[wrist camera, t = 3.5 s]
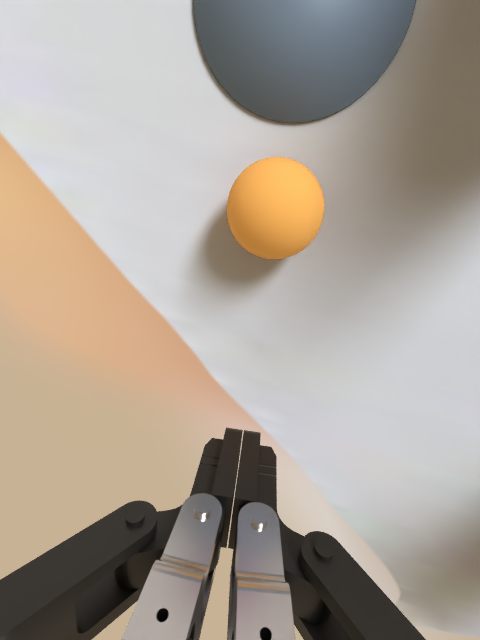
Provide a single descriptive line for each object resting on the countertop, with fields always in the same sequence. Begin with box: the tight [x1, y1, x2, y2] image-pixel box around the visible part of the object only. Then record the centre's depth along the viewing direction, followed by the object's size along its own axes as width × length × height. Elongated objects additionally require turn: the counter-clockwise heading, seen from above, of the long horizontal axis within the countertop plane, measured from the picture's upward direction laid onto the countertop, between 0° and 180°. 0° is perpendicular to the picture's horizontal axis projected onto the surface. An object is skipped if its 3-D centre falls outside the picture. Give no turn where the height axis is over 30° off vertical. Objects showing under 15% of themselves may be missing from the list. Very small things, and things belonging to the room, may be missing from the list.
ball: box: [227, 157, 324, 259], centre depth 21 cm, size 6×6×6 cm
